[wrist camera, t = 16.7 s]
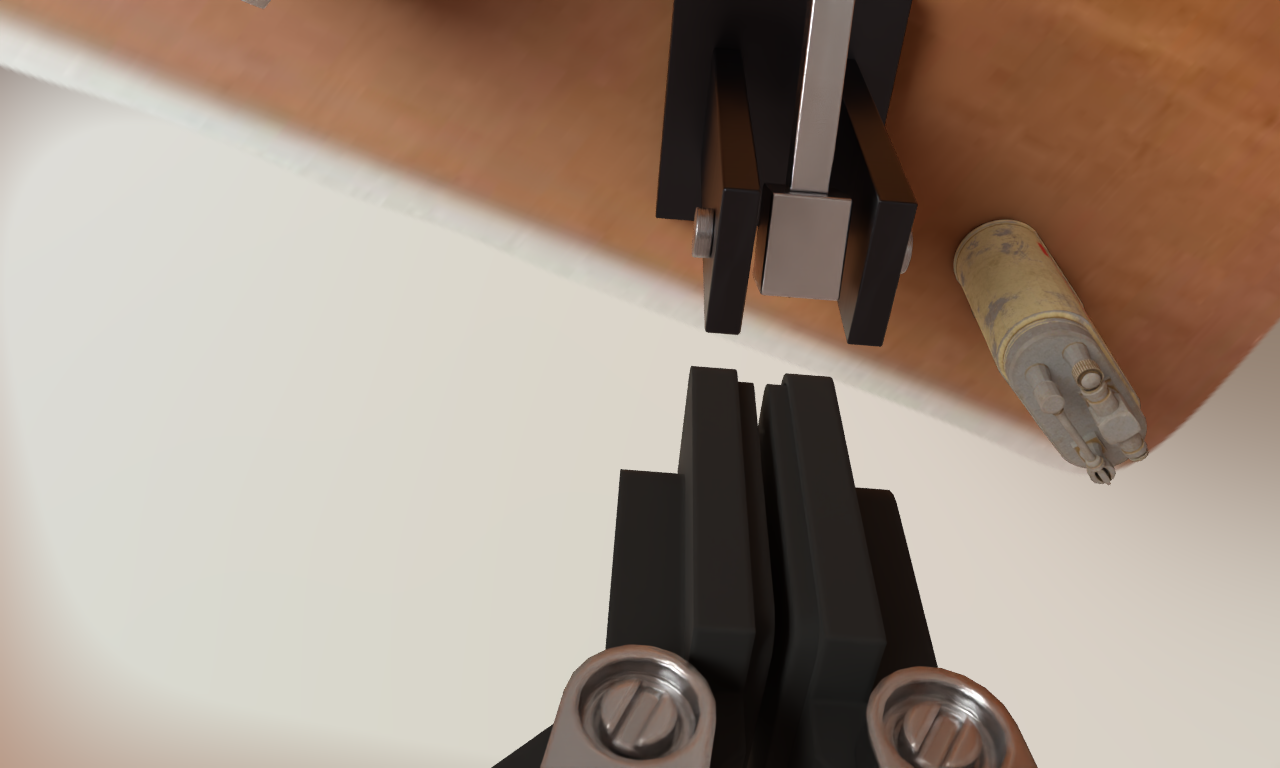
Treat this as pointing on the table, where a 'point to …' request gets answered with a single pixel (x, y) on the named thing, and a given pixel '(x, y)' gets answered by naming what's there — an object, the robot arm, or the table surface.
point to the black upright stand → (781, 148)
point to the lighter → (1050, 348)
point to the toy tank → (258, 3)
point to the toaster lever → (810, 172)
